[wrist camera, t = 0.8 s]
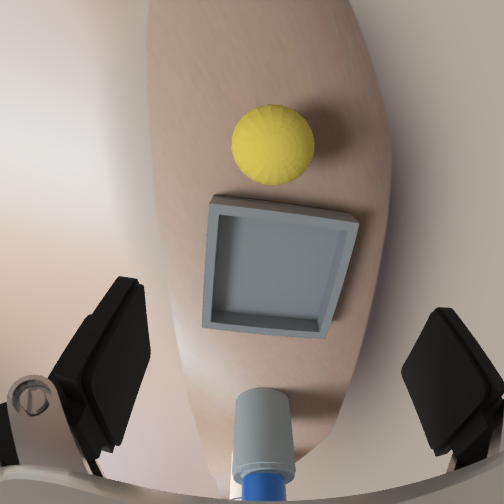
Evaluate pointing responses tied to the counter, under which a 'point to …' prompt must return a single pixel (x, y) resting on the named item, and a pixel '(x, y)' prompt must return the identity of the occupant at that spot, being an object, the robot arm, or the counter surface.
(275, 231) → the tray
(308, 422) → the counter surface
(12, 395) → the robot arm
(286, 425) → the spray bottle
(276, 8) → the counter surface
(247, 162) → the light bulb
